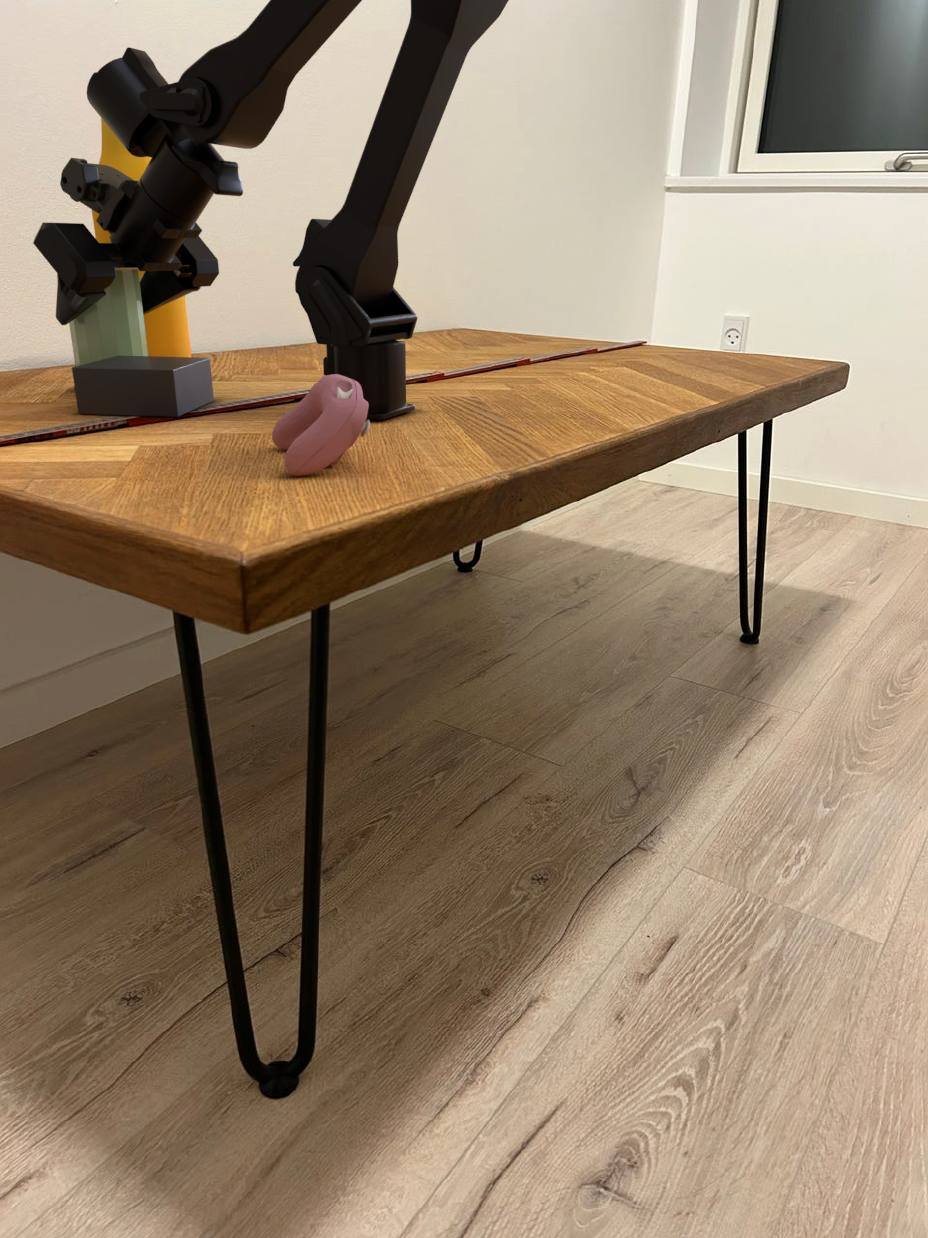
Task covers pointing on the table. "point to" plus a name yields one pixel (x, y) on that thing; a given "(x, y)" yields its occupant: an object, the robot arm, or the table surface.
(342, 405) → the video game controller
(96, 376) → the block
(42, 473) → the table surface
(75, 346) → the cup
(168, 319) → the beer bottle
